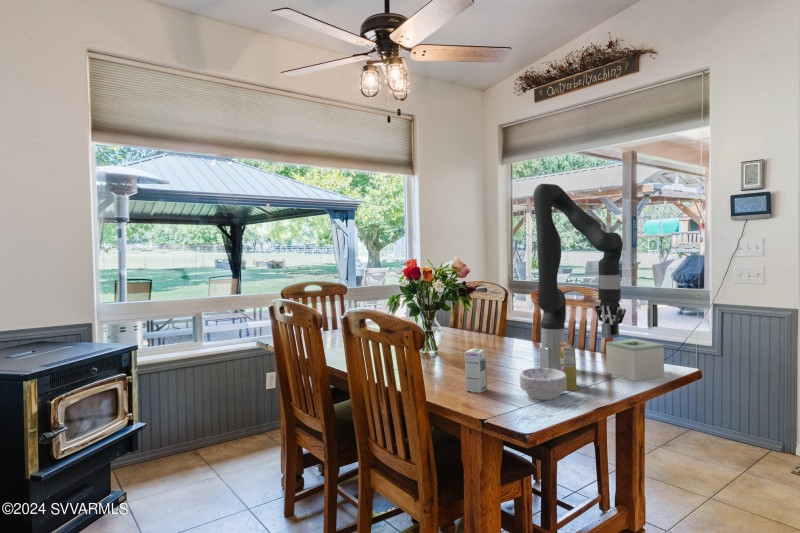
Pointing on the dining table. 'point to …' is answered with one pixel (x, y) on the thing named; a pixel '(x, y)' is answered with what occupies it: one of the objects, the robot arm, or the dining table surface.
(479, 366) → the syrup box
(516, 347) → the dining table surface
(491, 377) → the dining table surface
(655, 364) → the box
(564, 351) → the candy box
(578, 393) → the dining table surface
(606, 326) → the gray block
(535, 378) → the marbled stone bowl
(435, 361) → the dining table surface
